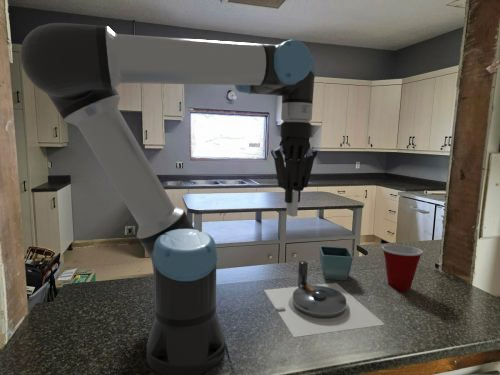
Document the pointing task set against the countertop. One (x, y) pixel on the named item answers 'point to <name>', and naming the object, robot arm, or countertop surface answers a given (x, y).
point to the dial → (317, 298)
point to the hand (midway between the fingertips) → (291, 215)
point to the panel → (309, 325)
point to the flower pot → (335, 262)
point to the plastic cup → (401, 265)
